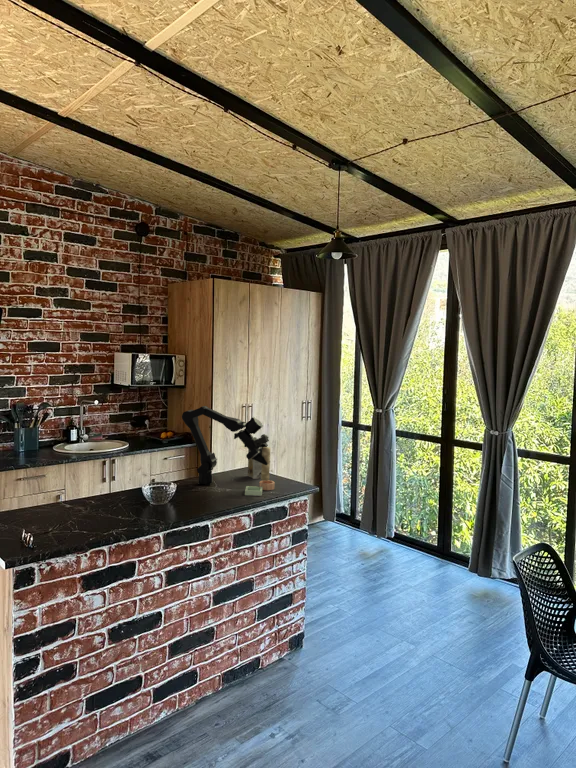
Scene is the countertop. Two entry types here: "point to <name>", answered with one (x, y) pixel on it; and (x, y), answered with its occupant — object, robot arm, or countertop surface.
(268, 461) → the dowel
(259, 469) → the coffee box
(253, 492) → the tray
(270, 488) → the holder
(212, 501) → the countertop surface
